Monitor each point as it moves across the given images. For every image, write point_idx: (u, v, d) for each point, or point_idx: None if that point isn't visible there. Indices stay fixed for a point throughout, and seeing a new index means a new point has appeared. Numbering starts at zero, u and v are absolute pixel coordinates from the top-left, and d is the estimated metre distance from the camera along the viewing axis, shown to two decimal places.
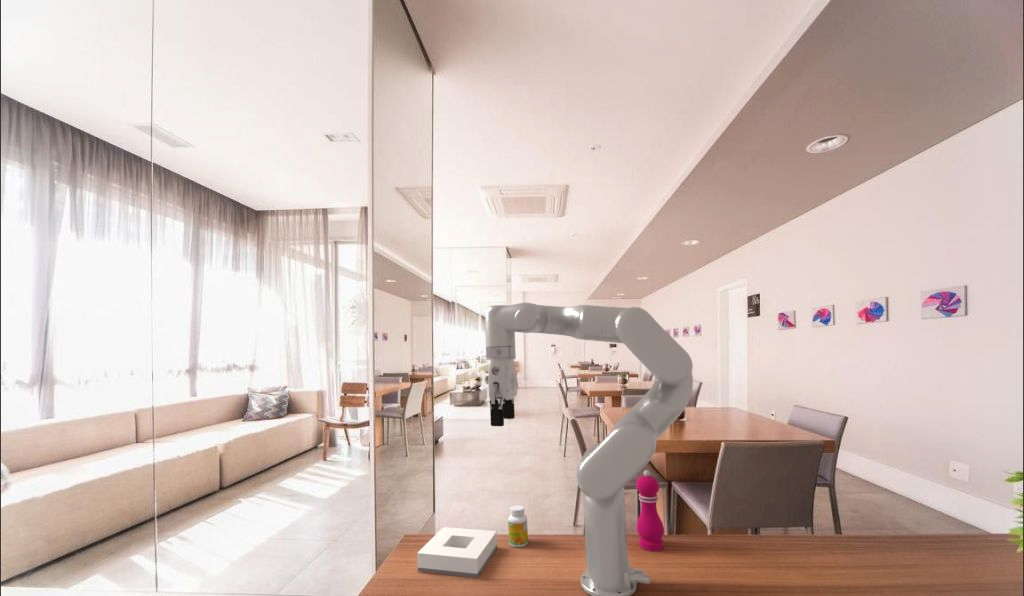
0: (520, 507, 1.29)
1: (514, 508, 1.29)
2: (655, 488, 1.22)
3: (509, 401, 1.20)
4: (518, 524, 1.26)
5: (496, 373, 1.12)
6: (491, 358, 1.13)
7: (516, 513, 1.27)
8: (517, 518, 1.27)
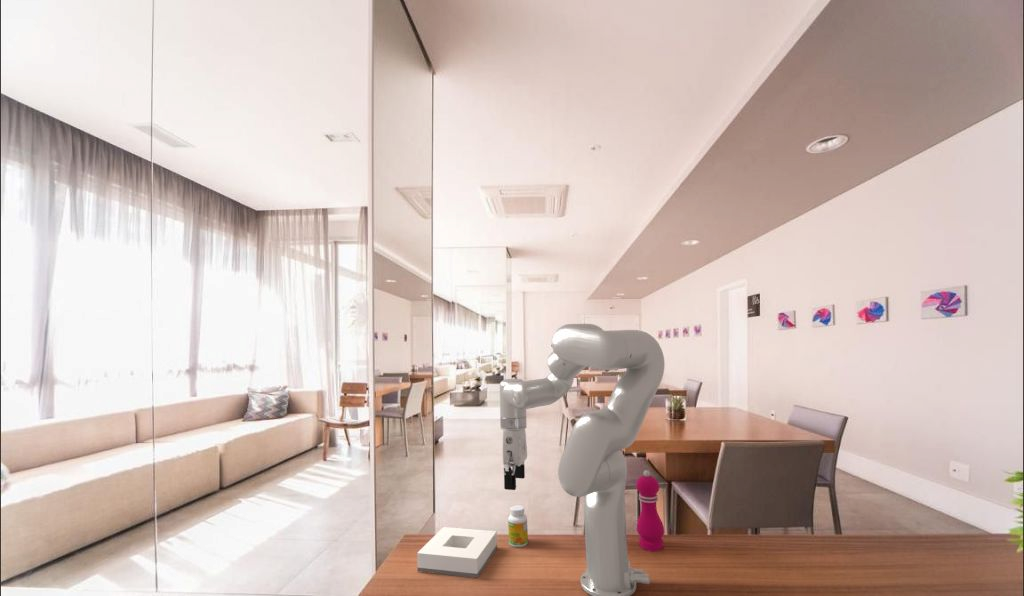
0: (520, 507, 1.29)
1: (514, 508, 1.29)
2: (655, 488, 1.22)
3: None
4: (518, 524, 1.26)
5: (509, 442, 1.28)
6: (505, 428, 1.28)
7: (516, 513, 1.27)
8: (517, 518, 1.27)
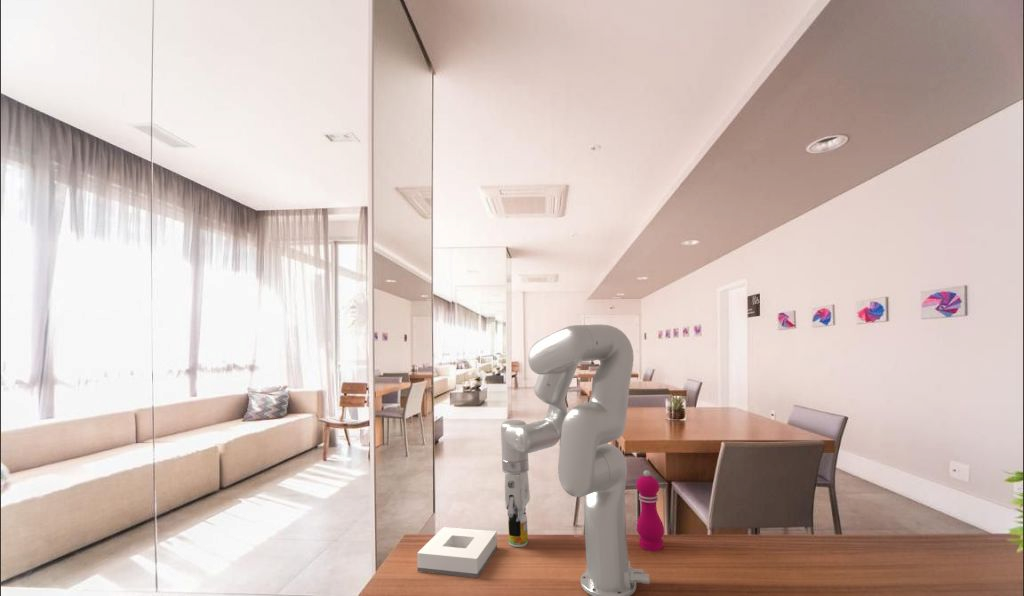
0: None
1: (514, 508, 1.29)
2: (655, 488, 1.22)
3: None
4: None
5: (511, 486, 1.26)
6: (507, 471, 1.27)
7: (515, 513, 1.27)
8: None
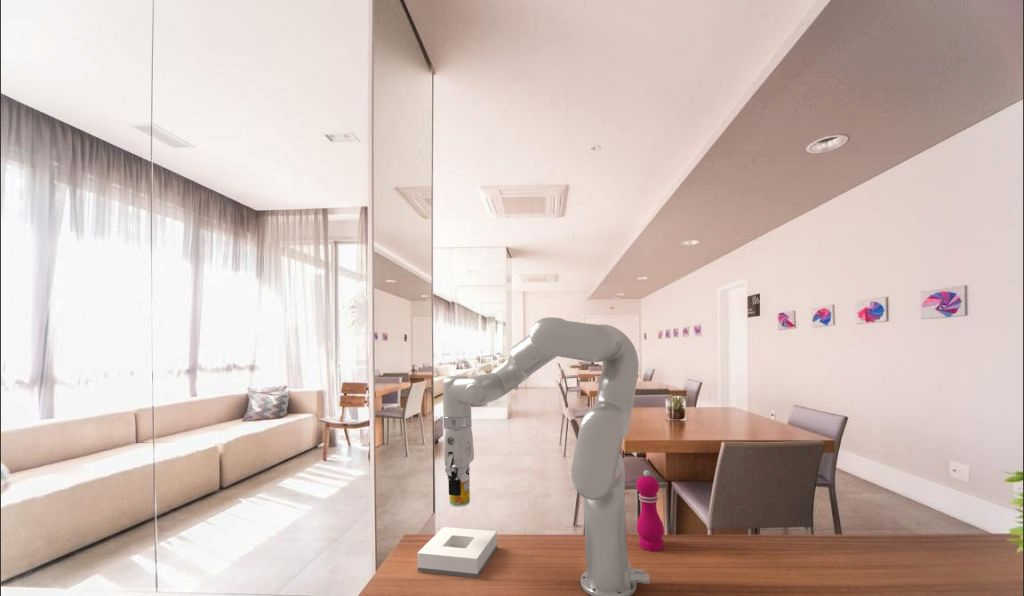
0: None
1: None
2: (655, 488, 1.22)
3: None
4: None
5: (451, 442, 1.20)
6: (447, 428, 1.21)
7: None
8: None
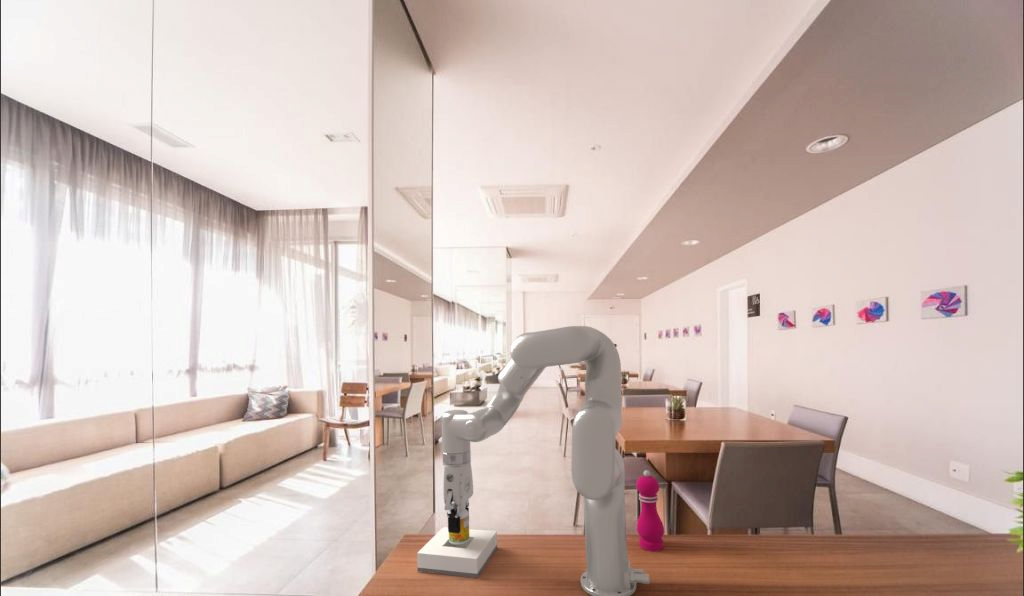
0: None
1: (455, 503, 1.21)
2: (655, 488, 1.22)
3: None
4: None
5: (451, 479, 1.19)
6: (446, 464, 1.20)
7: (455, 508, 1.20)
8: None
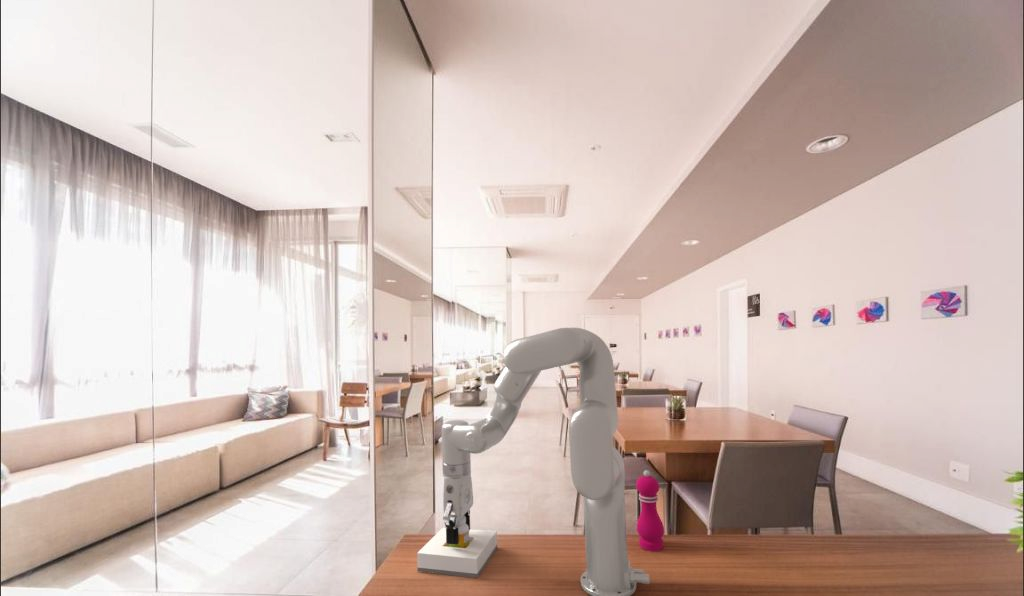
0: (461, 517, 1.21)
1: None
2: (655, 488, 1.22)
3: (465, 513, 1.25)
4: None
5: (451, 490, 1.18)
6: (446, 475, 1.19)
7: None
8: None
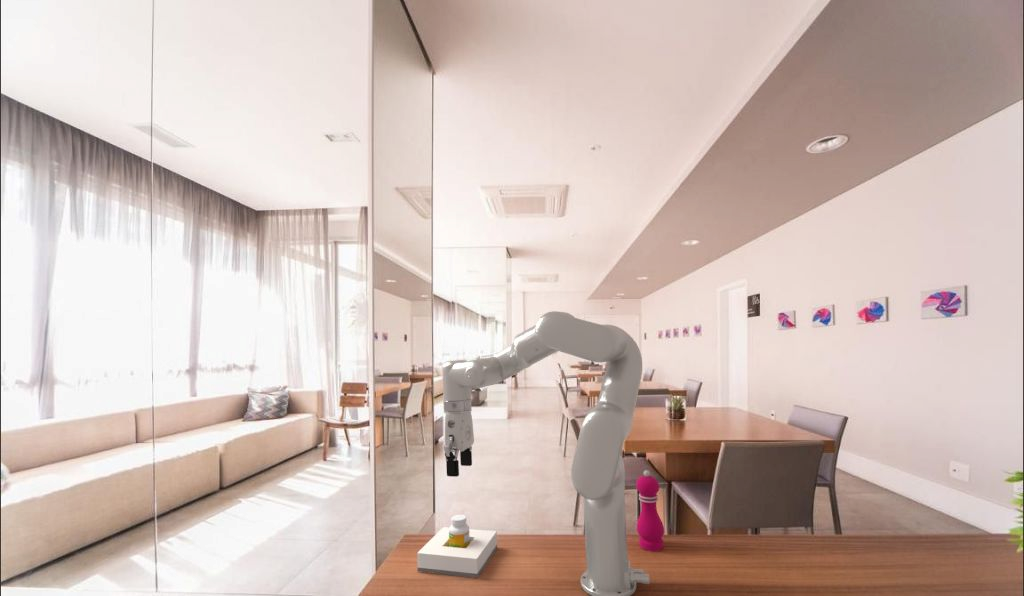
0: (461, 517, 1.21)
1: (455, 518, 1.21)
2: (655, 488, 1.22)
3: (467, 449, 1.28)
4: (458, 535, 1.18)
5: (452, 426, 1.20)
6: (447, 411, 1.21)
7: (456, 523, 1.19)
8: (457, 529, 1.19)
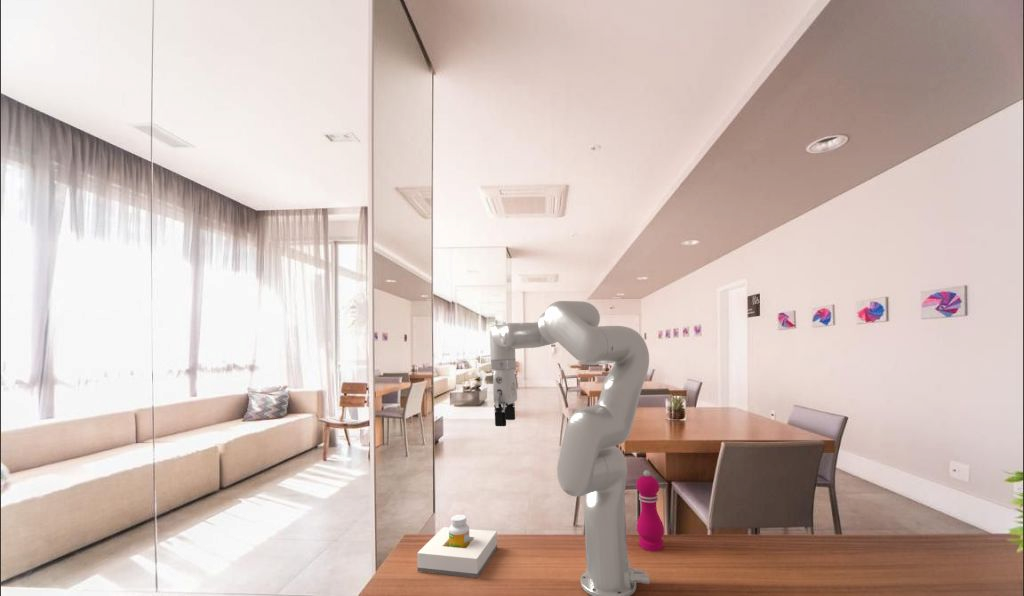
0: (461, 517, 1.21)
1: (455, 518, 1.21)
2: (655, 488, 1.22)
3: (510, 405, 1.42)
4: (458, 535, 1.18)
5: (499, 382, 1.35)
6: (495, 369, 1.35)
7: (456, 523, 1.19)
8: (457, 529, 1.19)
